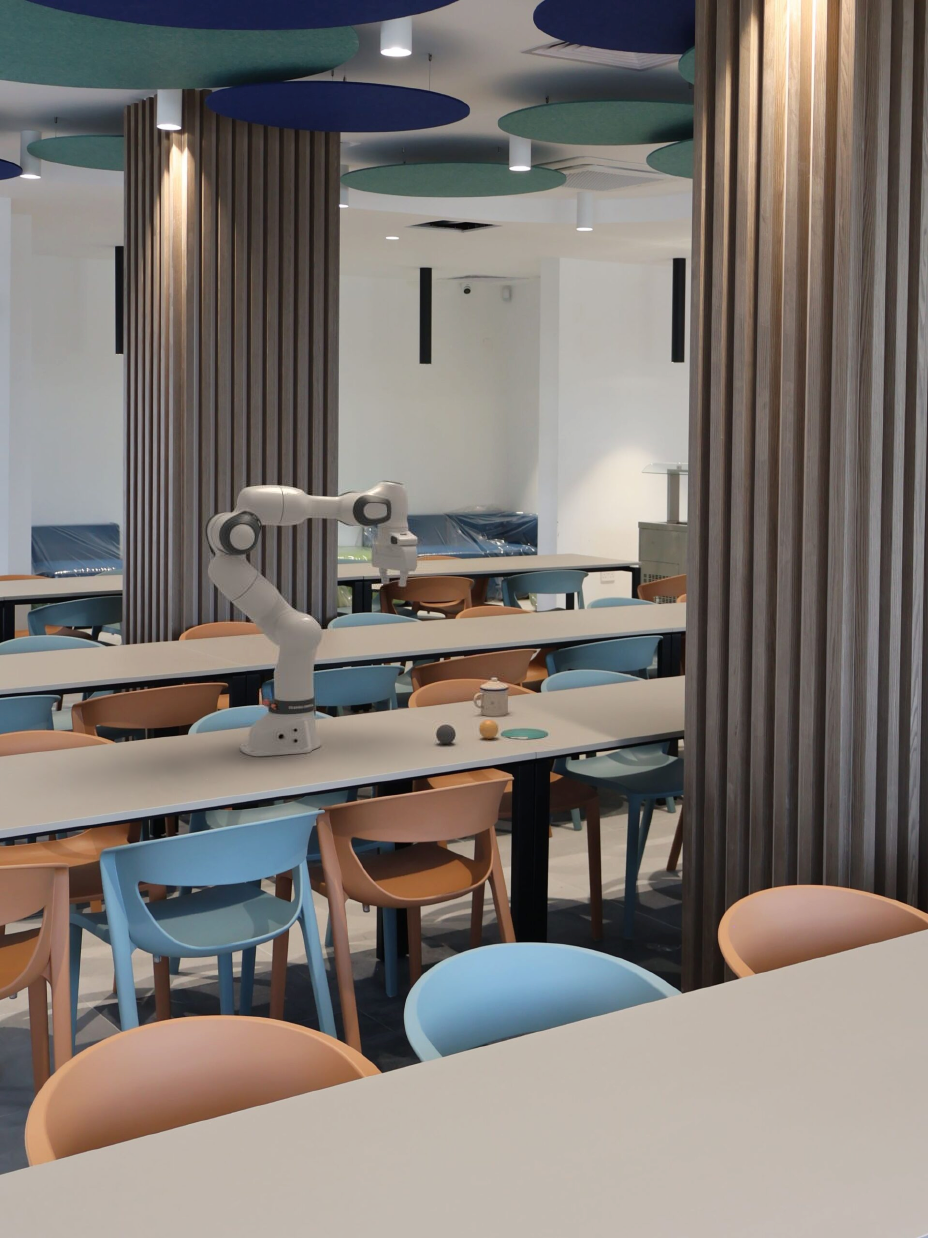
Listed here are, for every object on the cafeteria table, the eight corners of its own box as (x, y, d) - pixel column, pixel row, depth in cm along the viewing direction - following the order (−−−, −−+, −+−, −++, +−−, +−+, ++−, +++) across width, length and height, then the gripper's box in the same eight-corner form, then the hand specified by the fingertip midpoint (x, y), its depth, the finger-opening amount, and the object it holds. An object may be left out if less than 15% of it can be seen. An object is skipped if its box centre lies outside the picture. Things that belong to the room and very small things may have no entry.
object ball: (485, 741, 367) (484, 722, 366) (475, 737, 372) (475, 719, 371) (501, 739, 370) (501, 720, 369) (492, 735, 375) (492, 717, 374)
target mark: (515, 741, 367) (515, 740, 367) (492, 732, 379) (492, 731, 379) (557, 736, 374) (557, 735, 374) (532, 727, 386) (532, 726, 386)
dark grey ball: (441, 747, 361) (441, 727, 360) (432, 743, 366) (432, 724, 365) (459, 744, 363) (459, 725, 363) (450, 741, 368) (450, 722, 368)
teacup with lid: (499, 710, 412) (499, 674, 410) (513, 715, 404) (513, 678, 403) (467, 714, 406) (466, 678, 405) (481, 719, 398) (480, 682, 397)
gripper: (365, 535, 374) (366, 582, 376) (402, 539, 357) (402, 588, 359) (384, 535, 378) (384, 581, 379) (421, 538, 361) (421, 587, 363)
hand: (393, 585), depth 369 cm, fingers open, 8 cm apart
